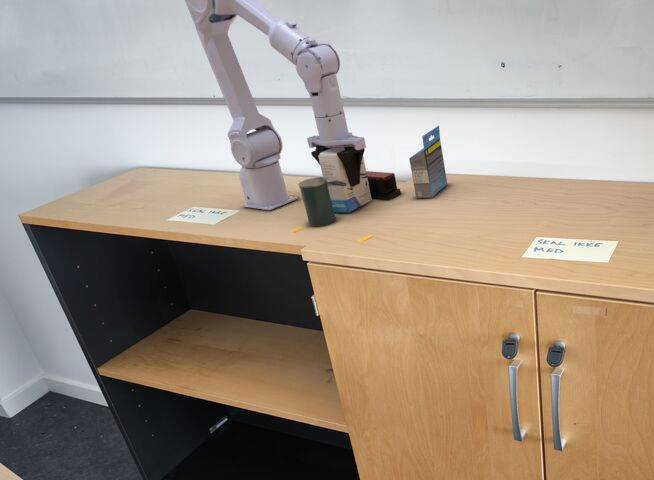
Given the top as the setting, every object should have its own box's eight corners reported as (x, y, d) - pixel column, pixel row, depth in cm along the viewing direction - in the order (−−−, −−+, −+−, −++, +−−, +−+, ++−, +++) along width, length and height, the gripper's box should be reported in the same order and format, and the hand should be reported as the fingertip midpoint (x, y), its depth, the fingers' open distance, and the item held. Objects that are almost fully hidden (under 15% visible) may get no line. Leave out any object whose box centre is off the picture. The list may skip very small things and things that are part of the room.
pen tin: (303, 225, 134) (292, 184, 130) (323, 216, 138) (313, 176, 133) (321, 228, 131) (311, 186, 127) (341, 218, 134) (332, 178, 130)
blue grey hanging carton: (431, 185, 146) (422, 126, 140) (448, 184, 145) (439, 125, 139) (415, 198, 139) (404, 137, 133) (432, 198, 138) (422, 136, 132)
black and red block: (348, 196, 148) (343, 175, 146) (361, 190, 150) (356, 169, 148) (388, 200, 141) (384, 178, 139) (401, 194, 143) (397, 172, 141)
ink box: (349, 213, 136) (336, 154, 130) (329, 212, 139) (316, 154, 133) (373, 199, 143) (362, 142, 137) (354, 199, 145) (342, 142, 139)
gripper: (370, 109, 129) (384, 180, 136) (319, 109, 138) (335, 176, 144) (343, 118, 125) (359, 191, 131) (293, 117, 133) (310, 186, 140)
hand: (345, 184), depth 138 cm, fingers closed on ink box, 5 cm apart
